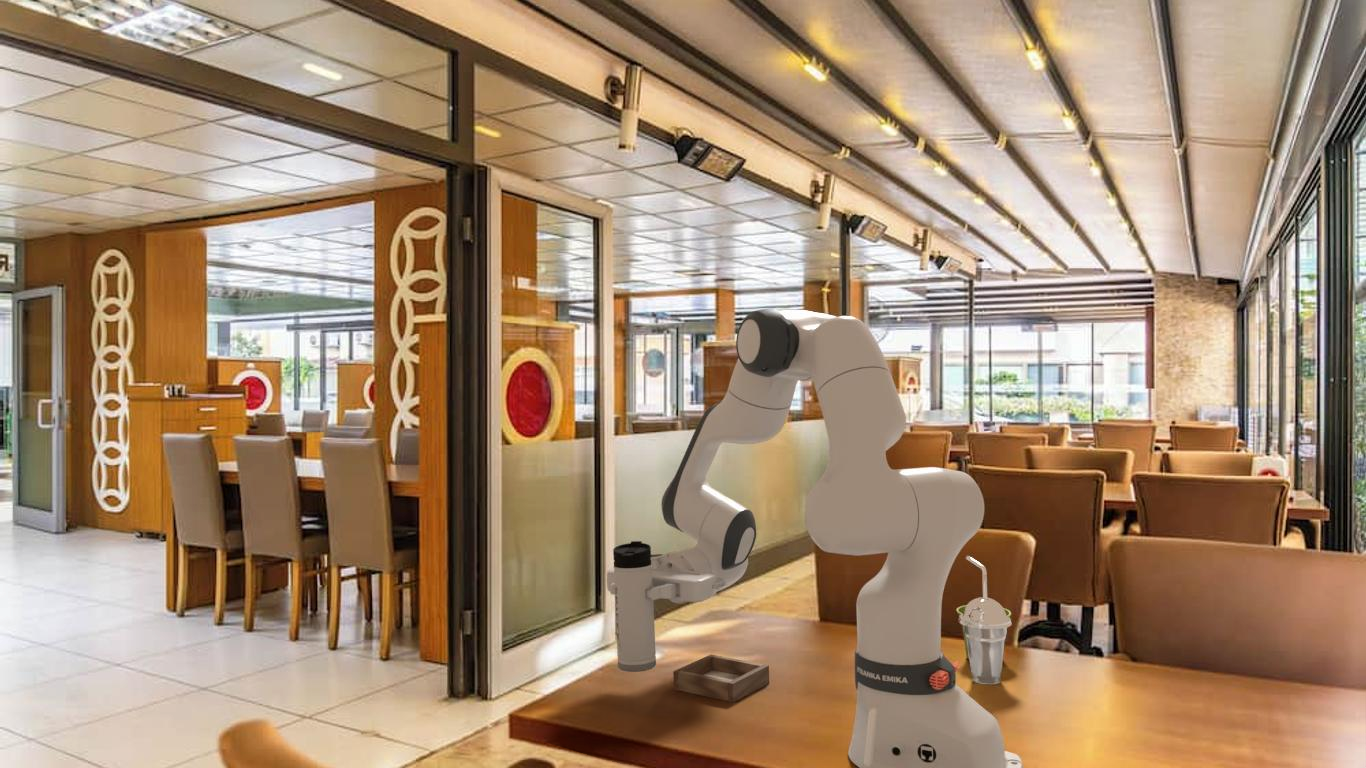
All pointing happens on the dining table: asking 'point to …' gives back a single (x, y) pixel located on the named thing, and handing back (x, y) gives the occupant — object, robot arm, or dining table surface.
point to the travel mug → (634, 607)
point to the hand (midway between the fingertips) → (630, 592)
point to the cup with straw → (985, 634)
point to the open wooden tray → (721, 677)
